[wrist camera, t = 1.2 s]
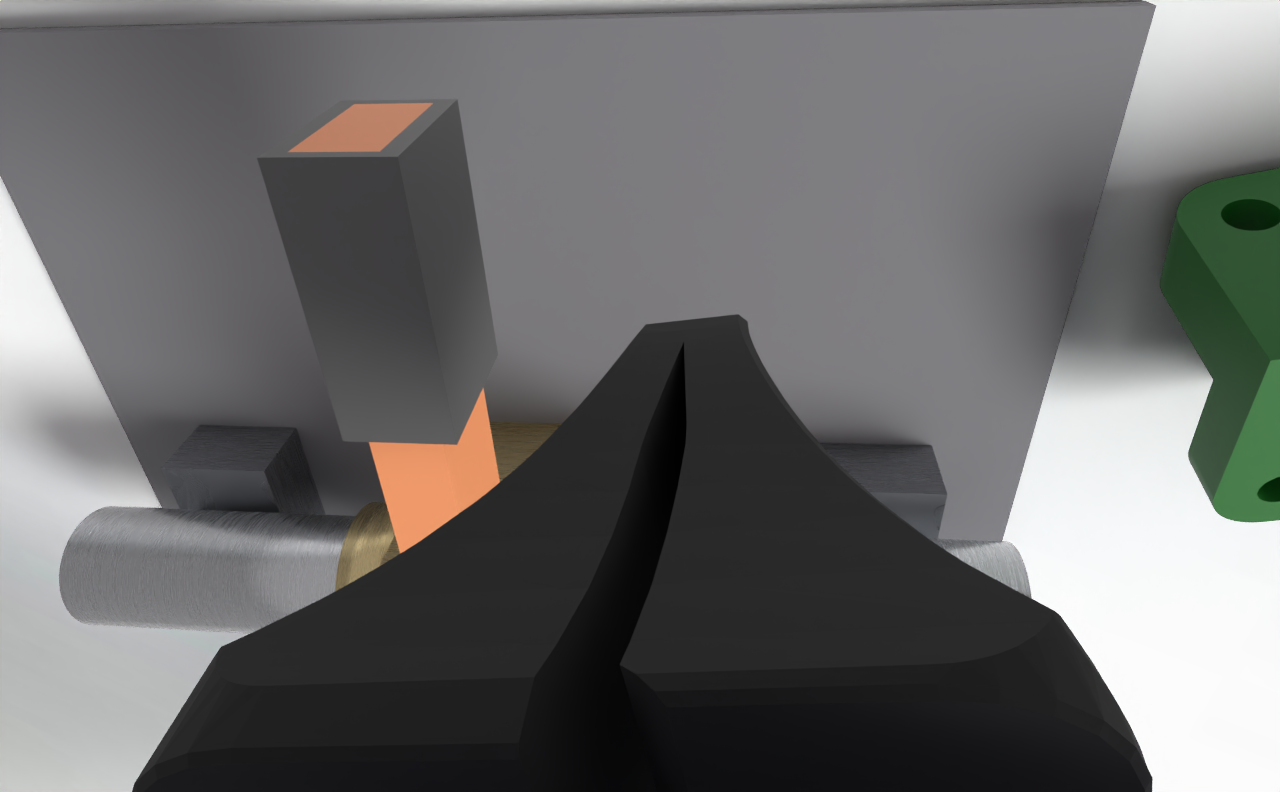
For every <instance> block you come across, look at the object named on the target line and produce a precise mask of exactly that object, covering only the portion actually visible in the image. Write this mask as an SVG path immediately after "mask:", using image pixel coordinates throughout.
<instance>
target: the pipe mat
mask: <svg viewBox="0 0 1280 792" xmlns="http://www.w3.org/2000/svg"><path fill="white" fill-rule="evenodd" d="M1155 8H1156V5H1153V4H1151V3H1149V2H1146V1H1132V2H1091V3H1049V4H1008V5H967V6H925V7H884V8H842V9H801V10H759V11H718V12H677V13H635V14H594V15H552V16H511V17H470V18H428V19H387V20H345V21H304V22H262V23H221V24H180V25H138V26H97V27H55V28H14V29H0V176H1V178H2V180H3V182H4V184H5V186H6V188H7V190H8V192H9V194H10V196H11V198H12V200H13V202H14V204H15V206H16V209H17V211H18V213H19V215H20V217H21V219H22V221H23V223H24V225H25V227H26V229H27V231H28V233H29V235H30V237H31V239H32V241H33V243H34V245H35V248H36V250H37V252H38V254H39V256H40V258H41V260H42V262H43V264H44V266H45V268H46V270H47V272H48V274H49V276H50V278H51V280H52V282H53V285H54V287H55V289H56V291H57V293H58V295H59V297H60V299H61V301H62V303H63V305H64V307H65V309H66V311H67V313H68V315H69V317H70V319H71V321H72V324H73V326H74V328H75V330H76V332H77V334H78V336H79V338H80V340H81V342H82V344H83V346H84V348H85V350H86V352H87V354H88V356H89V358H90V361H91V363H92V365H93V367H94V369H95V371H96V373H97V375H98V377H99V379H100V381H101V383H102V385H103V387H104V389H105V391H106V393H107V395H108V397H109V400H110V402H111V404H112V406H113V408H114V410H115V412H116V414H117V416H118V418H119V420H120V422H121V424H122V426H123V428H124V430H125V432H126V434H127V437H128V439H129V441H130V443H131V445H132V447H133V449H134V451H135V453H136V455H137V457H138V459H139V461H140V463H141V465H142V467H143V469H144V471H145V473H146V476H147V478H148V480H149V482H150V484H151V486H152V488H153V490H154V492H155V494H156V496H157V498H158V500H159V502H160V504H161V506H162V508H169V509H180V508H179V506H178V504H177V502H176V499H175V497H174V495H173V493H172V491H171V489H170V487H169V485H168V482H167V480H166V478H165V476H164V474H163V472H162V470H161V467H162V466H163V465H164V464H165V462H166V461H167V460H168V459H169V458H170V457H171V456H172V455H173V454H174V452H175V451H176V450H177V449H178V448H179V447H180V446H181V445H182V444H183V442H184V441H185V440H186V439H187V438H188V437H189V436H190V435H191V434H192V433H193V431H194V430H195V429H196V428H197V427H198V426H199V425H225V426H260V427H295V428H296V429H297V431H298V434H299V437H300V440H301V443H302V446H303V449H304V452H305V455H306V458H307V461H308V464H309V467H310V470H311V473H312V476H313V479H314V481H315V484H316V487H317V490H318V493H319V496H320V499H321V502H322V505H323V508H324V511H325V514H326V515H347V516H356V515H357V514H358V513H359V511H360V510H361V509H362V508H363V507H364V506H366V505H367V504H369V503H371V502H386V501H385V498H384V494H383V490H382V487H381V483H380V480H379V476H378V473H377V469H376V466H375V462H374V459H373V455H372V451H371V448H370V444H369V442H349V441H343V440H342V436H341V433H340V430H339V427H338V423H337V420H336V417H335V413H334V410H333V407H332V403H331V400H330V397H329V394H328V390H327V387H326V384H325V380H324V377H323V374H322V371H321V367H320V364H319V361H318V357H317V354H316V351H315V347H314V344H313V341H312V338H311V334H310V331H309V328H308V324H307V321H306V318H305V315H304V311H303V308H302V305H301V301H300V298H299V295H298V292H297V288H296V285H295V282H294V278H293V275H292V272H291V268H290V265H289V262H288V259H287V255H286V252H285V249H284V245H283V242H282V239H281V236H280V232H279V229H278V226H277V222H276V219H275V216H274V212H273V209H272V206H271V203H270V199H269V196H268V193H267V189H266V186H265V183H264V180H263V176H262V173H261V170H260V166H259V163H258V160H257V157H258V156H260V155H261V154H263V153H264V152H266V151H267V150H269V149H270V148H272V147H273V146H275V145H276V144H277V143H279V142H280V141H282V140H283V139H285V138H286V137H288V136H289V135H291V134H292V133H294V132H295V131H297V130H298V129H299V128H301V127H302V126H304V125H305V124H307V123H308V122H310V121H311V120H313V119H314V118H316V117H317V116H318V115H320V114H321V113H323V112H324V111H326V110H327V109H329V108H330V107H332V106H333V105H335V104H336V103H337V102H339V101H350V100H422V99H458V105H459V111H460V117H461V124H462V130H463V136H464V143H465V149H466V155H467V162H468V168H469V174H470V181H471V187H472V193H473V200H474V206H475V212H476V218H477V225H478V231H479V237H480V244H481V250H482V256H483V263H484V269H485V275H486V282H487V288H488V294H489V301H490V307H491V313H492V319H493V326H494V332H495V338H496V345H497V351H498V356H497V358H496V360H495V363H494V365H493V367H492V369H491V371H490V374H489V376H488V378H487V380H486V382H485V385H484V387H483V388H484V394H485V400H486V405H487V411H488V417H489V422H519V423H556V424H562V423H563V422H564V421H565V420H566V419H567V418H568V417H569V416H570V415H571V414H572V413H573V412H574V411H575V410H576V408H577V407H578V406H579V405H580V404H581V403H582V402H583V400H584V399H585V398H586V397H587V396H588V395H589V393H590V392H591V391H592V390H593V389H594V387H595V386H596V385H597V384H598V383H599V382H600V380H601V379H602V378H603V377H604V375H605V374H606V373H607V372H608V370H609V369H610V368H611V367H612V365H613V364H614V363H615V362H616V360H617V359H618V358H619V357H620V355H621V354H622V353H623V351H624V350H625V349H626V348H627V346H628V345H629V344H630V343H631V341H632V340H633V339H634V338H635V337H636V335H637V334H638V333H639V332H640V331H641V329H642V328H643V327H644V326H645V325H646V324H654V323H663V322H672V321H681V320H690V319H699V318H708V317H717V316H727V315H736V314H739V315H740V316H741V317H743V318H744V319H745V320H746V321H748V327H749V334H750V337H751V340H752V342H753V345H754V347H755V349H756V351H757V353H758V355H759V357H760V359H761V361H762V363H763V365H764V367H765V369H766V370H767V372H768V374H769V375H770V377H771V378H772V380H773V382H774V383H775V385H776V386H777V388H778V389H779V391H780V392H781V394H782V396H783V397H784V399H785V400H786V401H787V403H788V404H789V405H790V407H791V408H792V410H793V411H794V412H795V414H796V415H797V416H798V417H799V419H800V420H801V421H802V422H803V424H804V425H805V426H806V428H807V429H808V430H809V431H810V433H811V434H812V435H813V436H814V437H815V438H816V439H817V441H818V442H825V443H860V444H896V445H931V446H932V447H933V450H934V453H935V457H936V460H937V463H938V466H939V469H940V472H941V476H942V479H943V482H944V485H945V488H946V491H947V499H946V504H945V508H944V512H943V517H942V521H941V526H940V530H939V535H938V539H955V540H981V541H1002V539H1003V536H1004V532H1005V529H1006V525H1007V522H1008V518H1009V515H1010V511H1011V508H1012V504H1013V501H1014V498H1015V494H1016V491H1017V487H1018V484H1019V480H1020V477H1021V473H1022V470H1023V466H1024V463H1025V459H1026V456H1027V452H1028V449H1029V445H1030V442H1031V438H1032V435H1033V432H1034V428H1035V425H1036V421H1037V418H1038V414H1039V411H1040V407H1041V404H1042V400H1043V397H1044V393H1045V390H1046V386H1047V383H1048V379H1049V376H1050V372H1051V369H1052V366H1053V362H1054V359H1055V355H1056V352H1057V348H1058V345H1059V341H1060V338H1061V334H1062V331H1063V327H1064V324H1065V320H1066V317H1067V313H1068V310H1069V306H1070V303H1071V300H1072V296H1073V293H1074V289H1075V286H1076V282H1077V279H1078V275H1079V272H1080V268H1081V265H1082V261H1083V258H1084V254H1085V251H1086V247H1087V244H1088V240H1089V237H1090V233H1091V230H1092V227H1093V223H1094V220H1095V216H1096V213H1097V209H1098V206H1099V202H1100V199H1101V195H1102V192H1103V188H1104V185H1105V181H1106V178H1107V174H1108V171H1109V167H1110V164H1111V161H1112V157H1113V154H1114V150H1115V147H1116V143H1117V140H1118V136H1119V133H1120V129H1121V126H1122V122H1123V119H1124V115H1125V112H1126V108H1127V105H1128V101H1129V98H1130V95H1131V91H1132V88H1133V84H1134V81H1135V77H1136V74H1137V70H1138V67H1139V63H1140V60H1141V56H1142V53H1143V49H1144V46H1145V42H1146V39H1147V35H1148V32H1149V29H1150V25H1151V22H1152V18H1153V15H1154V11H1155Z"/></svg>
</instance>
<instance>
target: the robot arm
mask: <svg viewBox="0 0 1280 792" xmlns="http://www.w3.org/2000/svg"><path fill="white" fill-rule="evenodd" d="M132 792H1152V776H1151V774H1150V772H1149V770H1148V768H1147V766H1146V763H1145V760H1144V757H1143V754H1142V751H1141V749H1140V746H1139V744H1138V742H1137V740H1136V738H1135V735H1134V733H1133V731H1132V729H1131V727H1130V725H1129V723H1128V721H1127V720H1126V718H1125V716H1124V714H1123V712H1122V711H1121V709H1120V707H1119V705H1118V703H1117V702H1116V700H1115V699H1114V697H1113V695H1112V694H1111V692H1110V690H1109V689H1108V687H1107V685H1106V684H1105V682H1104V681H1103V679H1102V677H1101V676H1100V674H1099V672H1098V671H1097V669H1096V667H1095V666H1094V664H1093V663H1092V661H1091V660H1090V658H1089V657H1088V655H1087V654H1086V652H1085V651H1084V649H1083V648H1082V646H1081V645H1080V643H1079V642H1078V640H1077V639H1076V637H1075V636H1074V635H1073V633H1072V632H1071V630H1070V629H1069V627H1068V626H1067V625H1066V623H1065V622H1064V620H1063V619H1062V618H1061V616H1060V615H1059V614H1057V613H1056V612H1055V611H1053V610H1051V609H1050V608H1048V607H1046V606H1044V605H1042V604H1040V603H1038V602H1037V601H1035V600H1033V599H1031V598H1029V597H1027V596H1025V595H1024V594H1022V593H1020V592H1018V591H1016V590H1014V589H1012V588H1011V587H1009V586H1007V585H1005V584H1003V583H1001V582H1000V581H998V580H996V579H994V578H992V577H990V576H988V575H987V574H985V573H983V572H981V571H979V570H977V569H975V568H974V567H972V566H970V565H968V564H967V563H965V562H963V561H962V560H960V559H958V558H957V557H955V556H954V555H952V554H951V553H949V552H948V551H946V550H945V549H943V548H942V547H940V546H939V545H937V544H935V543H934V542H932V541H931V540H929V539H928V538H927V537H925V536H924V535H923V534H922V533H920V532H919V531H918V530H916V529H915V528H914V527H912V526H911V525H910V524H909V523H907V522H906V521H905V520H903V519H902V518H901V517H899V516H898V515H897V514H896V513H894V512H893V511H892V510H890V509H889V508H888V507H886V506H885V505H884V504H883V503H881V502H880V501H879V500H877V499H876V498H875V497H874V496H873V495H872V494H871V493H870V492H868V491H867V490H866V489H865V488H864V487H863V486H862V485H861V484H860V483H859V482H858V481H856V480H855V479H854V478H853V477H852V476H851V475H850V474H849V473H848V472H847V471H846V470H845V469H844V468H843V467H842V466H841V465H840V464H839V463H838V462H837V461H836V460H835V459H834V458H833V457H832V456H831V455H830V454H829V453H828V452H827V451H826V450H825V449H824V447H823V446H822V445H821V444H820V443H819V442H818V441H817V439H816V438H815V437H814V436H813V435H812V434H811V433H810V431H809V430H808V429H807V428H806V426H805V425H804V424H803V422H802V421H801V420H800V419H799V417H798V416H797V415H796V414H795V412H794V411H793V410H792V408H791V407H790V405H789V404H788V403H787V401H786V400H785V399H784V397H783V396H782V394H781V392H780V391H779V389H778V388H777V386H776V385H775V383H774V382H773V380H772V378H771V377H770V375H769V374H768V372H767V370H766V369H765V367H764V365H763V363H762V361H761V359H760V357H759V355H758V353H757V351H756V349H755V347H754V345H753V342H752V340H751V337H750V334H749V327H748V321H746V320H745V319H744V318H743V317H741V316H740V315H739V314H736V315H727V316H717V317H708V318H699V319H690V320H681V321H672V322H663V323H654V324H646V325H645V326H644V327H643V328H642V329H641V331H640V332H639V333H638V334H637V335H636V337H635V338H634V339H633V340H632V341H631V343H630V344H629V345H628V346H627V348H626V349H625V350H624V351H623V353H622V354H621V355H620V357H619V358H618V359H617V360H616V362H615V363H614V364H613V365H612V367H611V368H610V369H609V370H608V372H607V373H606V374H605V375H604V377H603V378H602V379H601V380H600V382H599V383H598V384H597V385H596V386H595V387H594V389H593V390H592V391H591V392H590V393H589V395H588V396H587V397H586V398H585V399H584V400H583V402H582V403H581V404H580V405H579V406H578V407H577V408H576V410H575V411H574V412H573V413H572V414H571V415H570V416H569V417H568V418H567V419H566V420H565V421H564V422H563V423H562V424H561V425H560V426H559V427H558V428H557V429H556V431H555V432H554V433H553V434H552V435H551V436H550V437H549V438H548V439H547V440H546V441H545V442H544V443H543V444H542V445H541V446H540V447H539V448H538V449H537V450H536V451H535V452H534V453H533V454H532V455H531V456H529V457H528V458H527V459H526V460H525V461H524V462H523V463H522V464H521V465H520V466H518V467H517V468H516V469H515V470H514V471H513V472H511V473H510V474H509V475H508V476H507V477H505V478H504V479H503V480H502V481H501V482H499V483H498V484H497V485H496V486H495V487H494V488H492V489H491V490H490V491H489V492H487V493H486V494H485V495H484V496H482V497H481V498H480V499H479V500H477V501H476V502H474V503H473V504H472V505H470V506H469V507H467V508H466V509H465V510H463V511H462V512H460V513H459V514H458V515H456V516H455V517H453V518H452V519H451V520H449V521H448V522H446V523H445V524H443V525H442V526H441V527H439V528H438V529H436V530H435V531H434V532H432V533H431V534H429V535H428V536H427V537H425V538H424V539H422V540H421V541H419V542H418V543H416V544H415V545H413V546H412V547H410V548H408V549H407V550H405V551H404V552H402V553H400V554H399V555H397V556H396V557H394V558H392V559H391V560H389V561H387V562H386V563H384V564H383V565H381V566H379V567H378V568H376V569H374V570H372V571H371V572H369V573H367V574H365V575H364V576H362V577H360V578H358V579H357V580H355V581H353V582H351V583H350V584H348V585H346V586H344V587H342V588H341V589H339V590H337V591H335V592H333V593H331V594H329V595H328V596H326V597H324V598H322V599H320V600H318V601H316V602H314V603H312V604H310V605H308V606H306V607H304V608H302V609H300V610H298V611H296V612H294V613H292V614H290V615H287V616H285V617H283V618H281V619H279V620H277V621H275V622H273V623H271V624H269V625H267V626H265V627H263V628H261V629H259V630H257V631H255V632H253V633H251V634H249V635H246V636H244V637H242V638H240V639H238V640H236V641H233V642H231V643H229V644H227V645H224V646H222V647H221V648H220V649H219V651H218V652H217V654H216V655H215V657H214V658H213V660H212V661H211V663H210V665H209V666H208V668H207V669H206V671H205V672H204V674H203V676H202V677H201V679H200V680H199V682H198V684H197V685H196V687H195V688H194V690H193V691H192V693H191V695H190V696H189V698H188V699H187V701H186V703H185V704H184V706H183V707H182V709H181V710H180V712H179V714H178V715H177V717H176V718H175V720H174V722H173V723H172V725H171V726H170V728H169V730H168V731H167V733H166V734H165V736H164V737H163V739H162V741H161V742H160V744H159V745H158V747H157V749H156V750H155V752H154V753H153V755H152V756H151V758H150V760H149V761H148V763H147V764H146V766H145V768H144V769H143V771H142V772H141V774H140V776H139V777H138V779H137V780H136V782H135V784H134V787H133V791H132Z"/></svg>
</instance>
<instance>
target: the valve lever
mask: <svg viewBox="0 0 1280 792" xmlns="http://www.w3.org/2000/svg"><path fill="white" fill-rule="evenodd" d="M257 160H258V163H259V166H260V170H261V173H262V176H263V180H264V183H265V186H266V189H267V193H268V196H269V199H270V203H271V206H272V209H273V212H274V216H275V219H276V222H277V226H278V229H279V232H280V236H281V239H282V242H283V245H284V249H285V252H286V255H287V259H288V262H289V265H290V268H291V272H292V275H293V278H294V282H295V285H296V288H297V292H298V295H299V298H300V301H301V305H302V308H303V311H304V315H305V318H306V321H307V324H308V328H309V331H310V334H311V338H312V341H313V344H314V347H315V351H316V354H317V357H318V361H319V364H320V367H321V371H322V374H323V377H324V380H325V384H326V387H327V390H328V394H329V397H330V400H331V403H332V407H333V410H334V413H335V417H336V420H337V423H338V427H339V430H340V433H341V436H342V440H343V441H349V442H369V444H370V448H371V451H372V455H373V459H374V462H375V466H376V469H377V473H378V476H379V480H380V483H381V487H382V490H383V494H384V498H385V501H386V505H387V508H388V512H389V515H390V519H391V522H392V526H393V530H394V533H395V537H396V540H397V544H398V547H399V551H400V553H402V552H404V551H405V550H407V549H408V548H410V547H412V546H413V545H415V544H416V543H418V542H419V541H421V540H422V539H424V538H425V537H427V536H428V535H429V534H431V533H432V532H434V531H435V530H436V529H438V528H439V527H441V526H442V525H443V524H445V523H446V522H448V521H449V520H451V519H452V518H453V517H455V516H456V515H458V514H459V513H460V512H462V511H463V510H465V509H466V508H467V507H469V506H470V505H472V504H473V503H474V502H476V501H477V500H479V499H480V498H481V497H482V496H484V495H485V494H486V493H487V492H489V491H490V490H491V489H492V488H494V487H495V486H496V485H497V484H498V483H499V482H500V480H499V474H498V468H497V463H496V457H495V451H494V445H493V440H492V434H491V428H490V422H489V417H488V411H487V405H486V400H485V394H484V388H483V387H484V385H485V382H486V380H487V378H488V376H489V374H490V371H491V369H492V367H493V365H494V363H495V360H496V358H497V356H498V351H497V345H496V338H495V332H494V326H493V319H492V313H491V307H490V301H489V294H488V288H487V282H486V275H485V269H484V263H483V256H482V250H481V244H480V237H479V231H478V225H477V218H476V212H475V206H474V200H473V193H472V187H471V181H470V174H469V168H468V162H467V155H466V149H465V143H464V136H463V130H462V124H461V117H460V111H459V105H458V99H422V100H350V101H339V102H337V103H336V104H335V105H333V106H332V107H330V108H329V109H327V110H326V111H324V112H323V113H321V114H320V115H318V116H317V117H316V118H314V119H313V120H311V121H310V122H308V123H307V124H305V125H304V126H302V127H301V128H299V129H298V130H297V131H295V132H294V133H292V134H291V135H289V136H288V137H286V138H285V139H283V140H282V141H280V142H279V143H277V144H276V145H275V146H273V147H272V148H270V149H269V150H267V151H266V152H264V153H263V154H261V155H260V156H258V157H257Z"/></svg>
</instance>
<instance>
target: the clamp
mask: <svg viewBox="0 0 1280 792" xmlns="http://www.w3.org/2000/svg"><path fill="white" fill-rule="evenodd" d="M1160 288H1161V291H1162V293H1163V295H1164V297H1165V299H1166V300H1167V302H1168V304H1169V305H1170V307H1171V309H1172V310H1173V312H1174V314H1175V316H1176V317H1177V319H1178V321H1179V322H1180V324H1181V326H1182V327H1183V329H1184V331H1185V332H1186V334H1187V336H1188V337H1189V339H1190V341H1191V343H1192V344H1193V346H1194V348H1195V349H1196V351H1197V353H1198V354H1199V356H1200V358H1201V359H1202V361H1203V363H1204V365H1205V366H1206V368H1207V370H1208V371H1209V373H1210V375H1211V376H1212V378H1213V383H1212V385H1211V388H1210V391H1209V394H1208V397H1207V400H1206V403H1205V405H1204V408H1203V411H1202V414H1201V417H1200V420H1199V423H1198V425H1197V428H1196V431H1195V434H1194V437H1193V440H1192V443H1191V445H1190V448H1189V452H1188V457H1189V460H1190V463H1191V465H1192V467H1193V468H1194V470H1195V472H1196V474H1197V476H1198V478H1199V480H1200V482H1201V484H1202V486H1203V488H1204V490H1205V492H1206V494H1207V495H1208V497H1209V499H1210V501H1211V503H1212V505H1213V507H1214V509H1215V510H1216V512H1217V513H1218V514H1220V515H1221V516H1223V517H1225V518H1227V519H1230V520H1234V521H1240V522H1265V521H1274V520H1280V168H1277V169H1272V170H1267V171H1262V172H1256V173H1251V174H1246V175H1240V176H1235V177H1230V178H1225V179H1220V180H1216V181H1212V182H1209V183H1206V184H1204V185H1201V186H1199V187H1197V188H1195V189H1194V190H1192V191H1191V192H1189V193H1188V194H1187V195H1186V196H1185V197H1184V198H1183V199H1182V200H1181V202H1180V204H1179V206H1178V209H1177V213H1176V217H1175V221H1174V225H1173V229H1172V233H1171V237H1170V241H1169V245H1168V249H1167V254H1166V258H1165V262H1164V266H1163V270H1162V274H1161V278H1160Z"/></svg>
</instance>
